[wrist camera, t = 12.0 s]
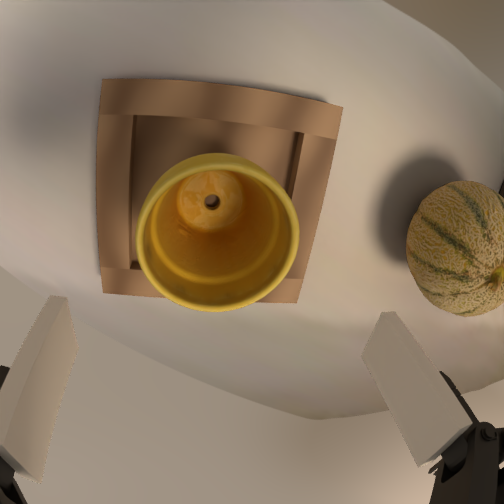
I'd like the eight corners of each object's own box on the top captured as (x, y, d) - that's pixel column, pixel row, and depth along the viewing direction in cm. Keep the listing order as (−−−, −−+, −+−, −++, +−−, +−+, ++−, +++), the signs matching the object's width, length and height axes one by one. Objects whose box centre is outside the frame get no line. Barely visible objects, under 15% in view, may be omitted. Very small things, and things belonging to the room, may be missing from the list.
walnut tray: (329, 105, 26) (343, 107, 23) (289, 287, 35) (296, 303, 32) (112, 81, 22) (102, 79, 19) (109, 277, 31) (103, 292, 28)
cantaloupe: (463, 254, 38) (530, 312, 25) (384, 287, 37) (447, 367, 24) (469, 157, 31) (560, 199, 17) (379, 177, 30) (479, 238, 17)
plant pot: (279, 231, 30) (312, 288, 21) (177, 262, 30) (171, 329, 21) (253, 125, 25) (282, 139, 16) (138, 162, 25) (106, 196, 16)
